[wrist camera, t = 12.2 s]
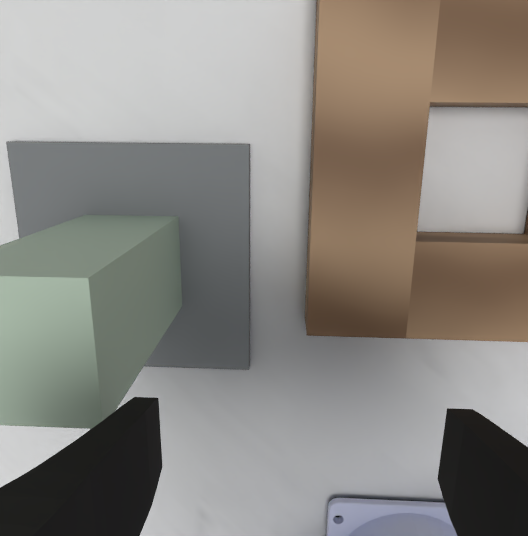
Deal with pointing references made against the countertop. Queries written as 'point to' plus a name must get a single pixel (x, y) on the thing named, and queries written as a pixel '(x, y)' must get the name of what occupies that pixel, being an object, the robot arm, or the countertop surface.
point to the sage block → (83, 315)
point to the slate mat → (159, 204)
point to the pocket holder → (407, 170)
